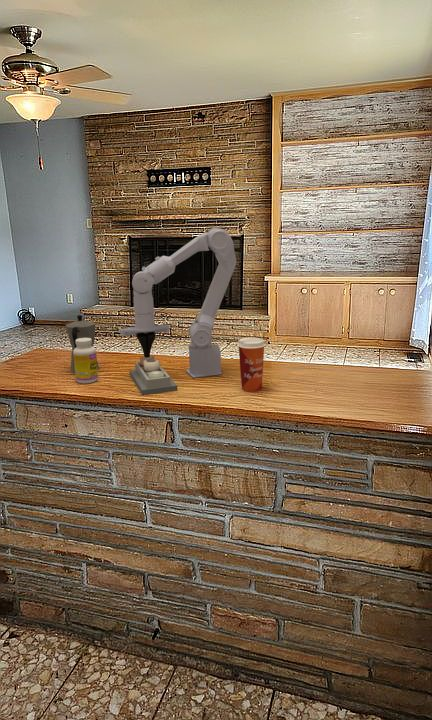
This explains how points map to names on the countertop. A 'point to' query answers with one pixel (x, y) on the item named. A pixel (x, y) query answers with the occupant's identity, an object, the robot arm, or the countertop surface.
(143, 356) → the terracotta button
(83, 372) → the supplement bottle
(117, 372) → the countertop surface
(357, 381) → the countertop surface
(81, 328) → the coffeepot
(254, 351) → the paper cup
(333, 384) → the countertop surface
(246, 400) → the countertop surface
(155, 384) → the button board
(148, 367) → the ivory button
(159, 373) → the sage button
